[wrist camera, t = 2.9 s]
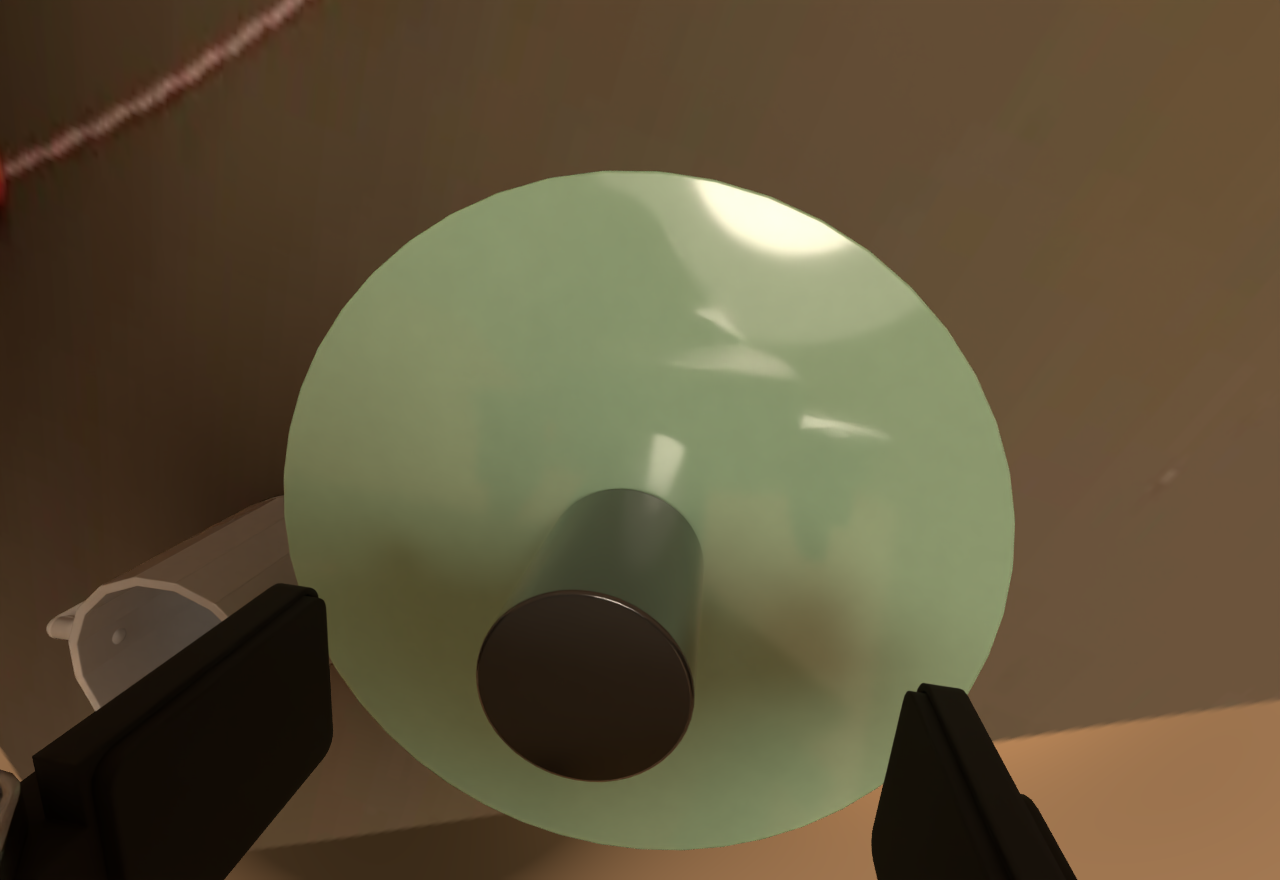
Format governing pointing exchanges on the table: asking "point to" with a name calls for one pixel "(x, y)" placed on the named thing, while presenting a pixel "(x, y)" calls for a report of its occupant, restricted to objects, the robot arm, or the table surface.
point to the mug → (173, 599)
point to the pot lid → (647, 507)
